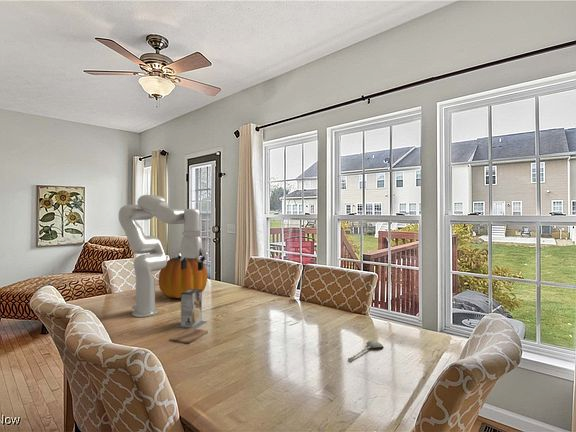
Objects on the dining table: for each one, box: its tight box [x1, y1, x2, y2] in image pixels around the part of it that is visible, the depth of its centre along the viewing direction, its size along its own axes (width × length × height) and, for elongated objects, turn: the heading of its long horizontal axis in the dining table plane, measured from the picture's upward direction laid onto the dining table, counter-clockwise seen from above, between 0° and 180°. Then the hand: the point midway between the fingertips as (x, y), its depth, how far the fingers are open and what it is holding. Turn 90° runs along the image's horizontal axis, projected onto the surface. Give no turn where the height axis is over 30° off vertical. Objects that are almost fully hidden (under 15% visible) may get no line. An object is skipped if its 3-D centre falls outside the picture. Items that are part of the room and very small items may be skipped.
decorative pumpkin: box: [158, 256, 208, 299], centre depth 204 cm, size 30×30×30 cm
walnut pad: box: [169, 328, 209, 345], centre depth 137 cm, size 10×13×1 cm
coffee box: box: [180, 289, 203, 327], centre depth 152 cm, size 9×6×16 cm
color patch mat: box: [175, 320, 208, 329], centre depth 152 cm, size 11×11×1 cm
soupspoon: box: [347, 340, 384, 363], centre depth 123 cm, size 22×3×7 cm
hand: (192, 269), depth 152 cm, fingers open, 9 cm apart
